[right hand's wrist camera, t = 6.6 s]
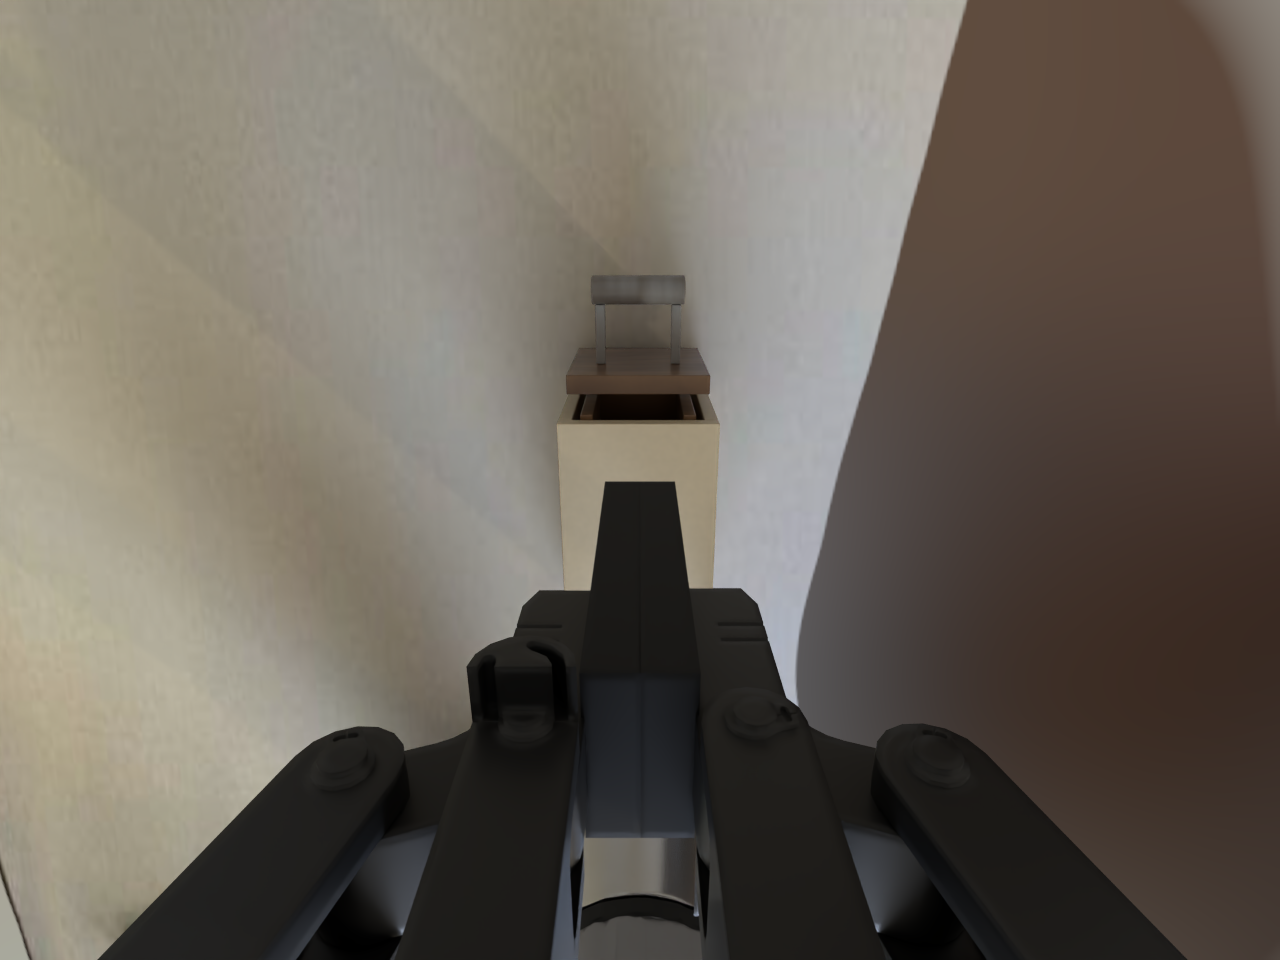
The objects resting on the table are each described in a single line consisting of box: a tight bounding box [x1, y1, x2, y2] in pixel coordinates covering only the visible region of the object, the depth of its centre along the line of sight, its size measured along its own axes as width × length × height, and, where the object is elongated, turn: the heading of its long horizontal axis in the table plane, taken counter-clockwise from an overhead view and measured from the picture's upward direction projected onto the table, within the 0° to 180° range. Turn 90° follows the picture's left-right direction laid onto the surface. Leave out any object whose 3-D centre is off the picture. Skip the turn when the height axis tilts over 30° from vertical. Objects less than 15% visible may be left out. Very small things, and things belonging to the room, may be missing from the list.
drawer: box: [566, 275, 710, 420], centre depth 48 cm, size 24×9×10 cm, turn 0°
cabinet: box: [557, 394, 720, 590], centre depth 50 cm, size 20×10×11 cm, turn 0°
